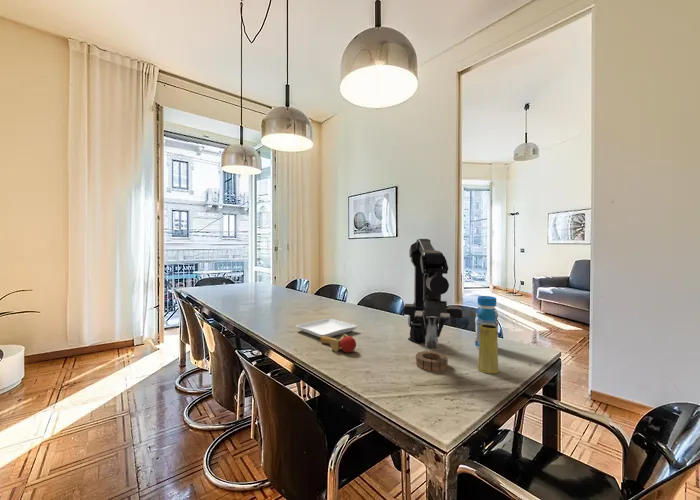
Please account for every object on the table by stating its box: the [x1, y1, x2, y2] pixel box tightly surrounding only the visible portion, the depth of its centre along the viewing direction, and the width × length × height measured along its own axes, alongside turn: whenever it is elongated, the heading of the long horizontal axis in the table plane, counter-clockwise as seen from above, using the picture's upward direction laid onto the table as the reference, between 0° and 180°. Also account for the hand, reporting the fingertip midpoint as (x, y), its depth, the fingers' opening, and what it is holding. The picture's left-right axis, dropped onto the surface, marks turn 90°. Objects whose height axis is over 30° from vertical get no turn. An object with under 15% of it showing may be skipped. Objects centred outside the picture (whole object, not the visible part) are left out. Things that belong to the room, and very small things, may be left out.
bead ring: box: [415, 350, 449, 372], centre depth 102 cm, size 10×10×3 cm
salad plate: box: [295, 317, 359, 339], centre depth 140 cm, size 21×21×3 cm
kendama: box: [320, 333, 357, 354], centre depth 118 cm, size 8×6×18 cm
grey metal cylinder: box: [424, 316, 439, 350], centre depth 101 cm, size 4×4×10 cm
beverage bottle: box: [474, 295, 499, 349], centre depth 119 cm, size 8×8×20 cm
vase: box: [477, 324, 500, 375], centre depth 98 cm, size 6×6×14 cm
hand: (431, 336), depth 101 cm, fingers closed on grey metal cylinder, 4 cm apart
